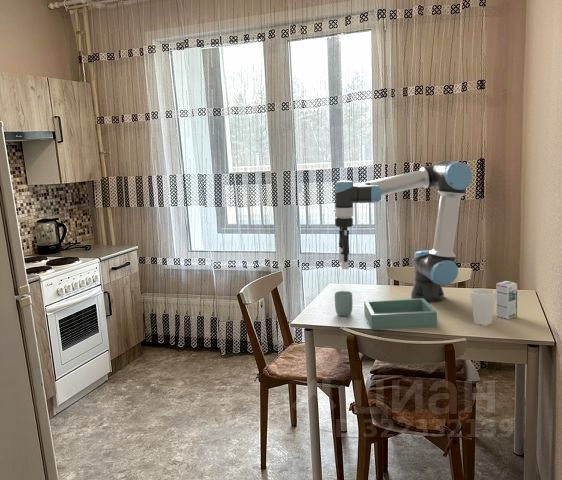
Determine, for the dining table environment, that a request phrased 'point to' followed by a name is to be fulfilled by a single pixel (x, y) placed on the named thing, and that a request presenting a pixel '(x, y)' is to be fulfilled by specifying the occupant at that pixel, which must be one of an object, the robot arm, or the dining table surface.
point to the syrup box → (506, 299)
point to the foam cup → (483, 305)
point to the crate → (400, 314)
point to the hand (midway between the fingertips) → (343, 265)
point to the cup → (343, 303)
